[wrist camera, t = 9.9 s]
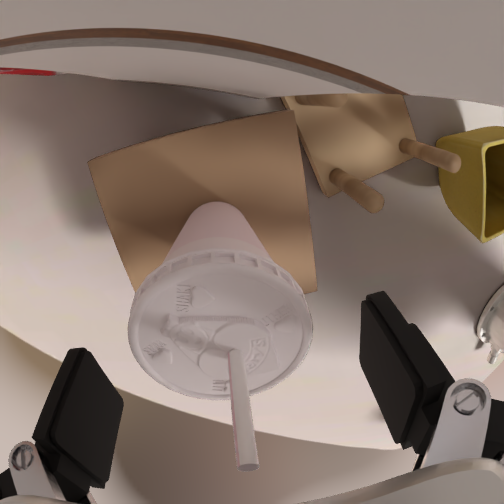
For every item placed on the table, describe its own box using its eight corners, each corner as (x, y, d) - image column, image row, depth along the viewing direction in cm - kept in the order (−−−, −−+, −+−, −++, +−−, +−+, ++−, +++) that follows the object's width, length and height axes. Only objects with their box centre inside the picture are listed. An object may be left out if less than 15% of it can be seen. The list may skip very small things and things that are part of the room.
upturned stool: (411, 151, 26) (469, 174, 19) (322, 192, 27) (362, 230, 20) (376, 52, 22) (435, 42, 14) (276, 88, 23) (304, 82, 15)
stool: (290, 239, 29) (317, 290, 21) (164, 266, 29) (150, 325, 21) (268, 107, 24) (294, 110, 16) (125, 142, 23) (87, 162, 16)
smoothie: (235, 292, 21) (264, 505, 8) (146, 250, 19) (79, 468, 6) (290, 212, 19) (408, 414, 6) (195, 158, 17) (140, 336, 4)
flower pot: (481, 188, 29) (534, 218, 21) (427, 208, 29) (481, 245, 21) (475, 115, 25) (536, 130, 17) (417, 126, 25) (481, 144, 17)
